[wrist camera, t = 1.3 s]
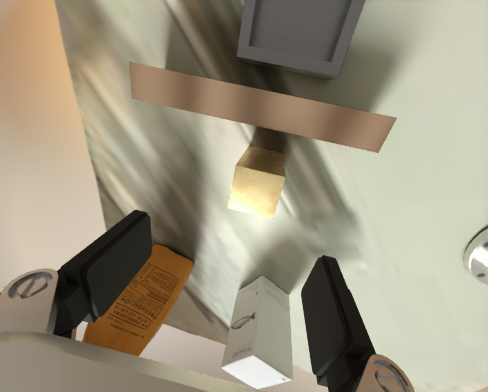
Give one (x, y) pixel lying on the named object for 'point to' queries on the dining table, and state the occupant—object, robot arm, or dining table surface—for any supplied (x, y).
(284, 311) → the supplement box
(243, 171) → the block
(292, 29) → the grey square tray
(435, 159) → the dining table surface
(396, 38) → the dining table surface
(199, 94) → the brown plank
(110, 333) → the coffee package
